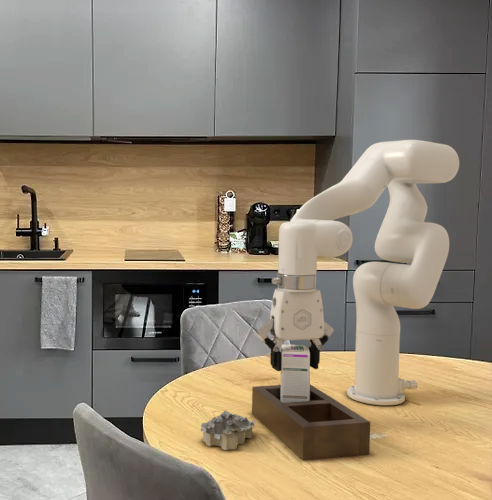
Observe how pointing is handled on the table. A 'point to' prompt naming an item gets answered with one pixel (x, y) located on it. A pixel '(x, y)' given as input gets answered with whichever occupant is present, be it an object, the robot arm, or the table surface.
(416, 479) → the table surface
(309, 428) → the holder
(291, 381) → the syrup box
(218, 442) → the egg carton
